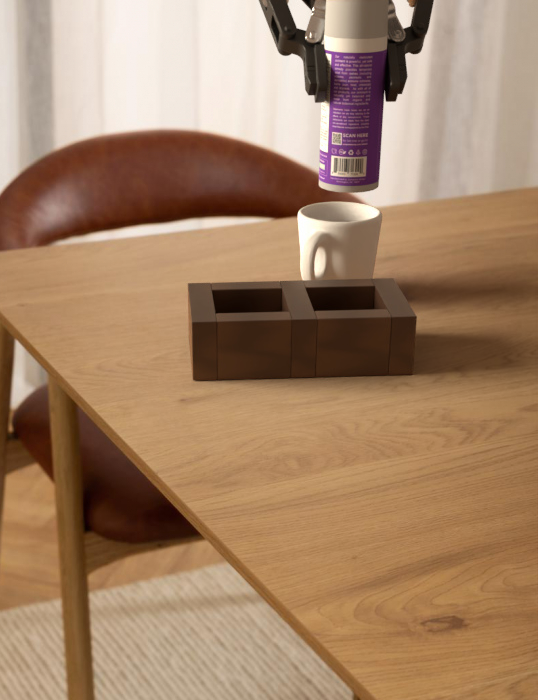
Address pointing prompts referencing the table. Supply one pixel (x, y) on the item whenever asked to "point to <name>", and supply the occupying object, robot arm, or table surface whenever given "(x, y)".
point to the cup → (338, 240)
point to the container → (353, 95)
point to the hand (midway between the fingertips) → (357, 94)
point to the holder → (300, 329)
